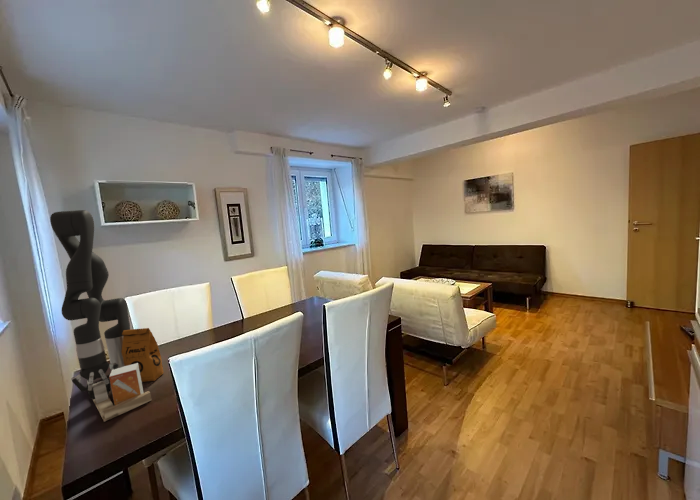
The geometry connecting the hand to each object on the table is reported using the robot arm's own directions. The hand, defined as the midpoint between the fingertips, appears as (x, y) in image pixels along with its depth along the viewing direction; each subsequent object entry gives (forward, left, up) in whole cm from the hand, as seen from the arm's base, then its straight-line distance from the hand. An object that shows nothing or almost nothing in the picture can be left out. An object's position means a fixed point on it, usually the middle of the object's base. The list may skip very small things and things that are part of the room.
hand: (100, 395), depth 115 cm
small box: (+10, +7, -3) cm, 12 cm away
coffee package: (-5, +16, -3) cm, 17 cm away
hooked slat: (+1, +5, -2) cm, 6 cm away
